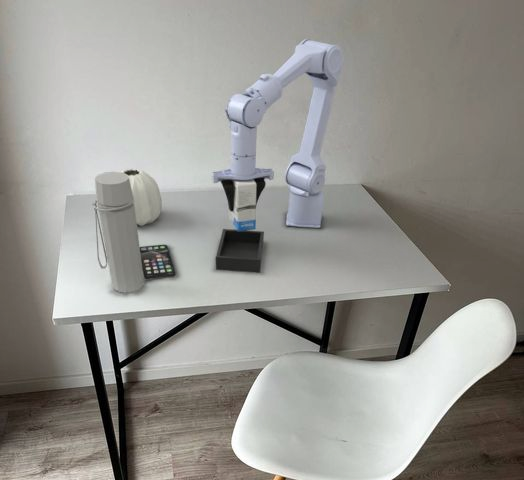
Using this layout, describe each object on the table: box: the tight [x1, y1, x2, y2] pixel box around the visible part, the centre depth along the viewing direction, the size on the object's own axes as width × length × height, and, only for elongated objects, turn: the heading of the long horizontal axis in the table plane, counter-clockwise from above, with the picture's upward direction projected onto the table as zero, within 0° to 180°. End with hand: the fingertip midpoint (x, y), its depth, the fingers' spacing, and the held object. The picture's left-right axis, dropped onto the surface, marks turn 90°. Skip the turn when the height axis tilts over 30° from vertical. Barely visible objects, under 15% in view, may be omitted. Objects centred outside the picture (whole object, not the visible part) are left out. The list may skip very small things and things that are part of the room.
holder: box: [215, 228, 265, 274], centre depth 128 cm, size 11×15×4 cm
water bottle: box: [91, 171, 145, 294], centre depth 109 cm, size 9×8×25 cm
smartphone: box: [140, 244, 177, 280], centre depth 125 cm, size 7×1×15 cm
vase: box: [120, 168, 163, 227], centre depth 138 cm, size 14×14×13 cm
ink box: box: [228, 179, 257, 231], centre depth 125 cm, size 9×5×12 cm, turn 17°
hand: (242, 208), depth 127 cm, fingers closed on ink box, 5 cm apart
